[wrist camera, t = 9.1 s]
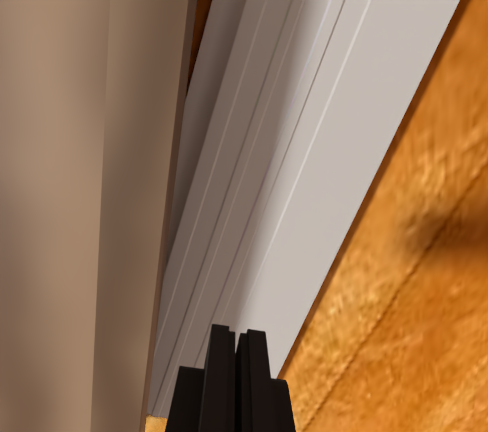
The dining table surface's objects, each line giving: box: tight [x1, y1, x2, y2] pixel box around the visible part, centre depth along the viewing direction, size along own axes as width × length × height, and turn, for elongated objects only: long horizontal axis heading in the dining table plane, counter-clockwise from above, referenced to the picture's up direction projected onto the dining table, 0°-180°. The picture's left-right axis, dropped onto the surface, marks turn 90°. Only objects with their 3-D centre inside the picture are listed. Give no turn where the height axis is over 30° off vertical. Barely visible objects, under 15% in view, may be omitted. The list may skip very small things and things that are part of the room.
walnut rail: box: [0, 0, 197, 432], centre depth 17 cm, size 10×32×6 cm, turn 169°
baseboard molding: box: [147, 0, 460, 418], centre depth 19 cm, size 31×3×12 cm
